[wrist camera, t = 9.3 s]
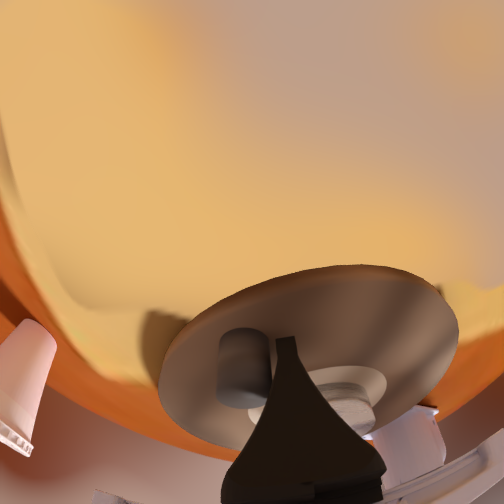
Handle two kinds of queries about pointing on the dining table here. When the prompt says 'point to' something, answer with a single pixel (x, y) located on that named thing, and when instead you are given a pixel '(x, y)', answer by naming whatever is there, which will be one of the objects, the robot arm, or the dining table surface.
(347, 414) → the cover
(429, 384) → the turntable
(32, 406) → the smoothie
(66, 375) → the dining table surface
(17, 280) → the dining table surface
